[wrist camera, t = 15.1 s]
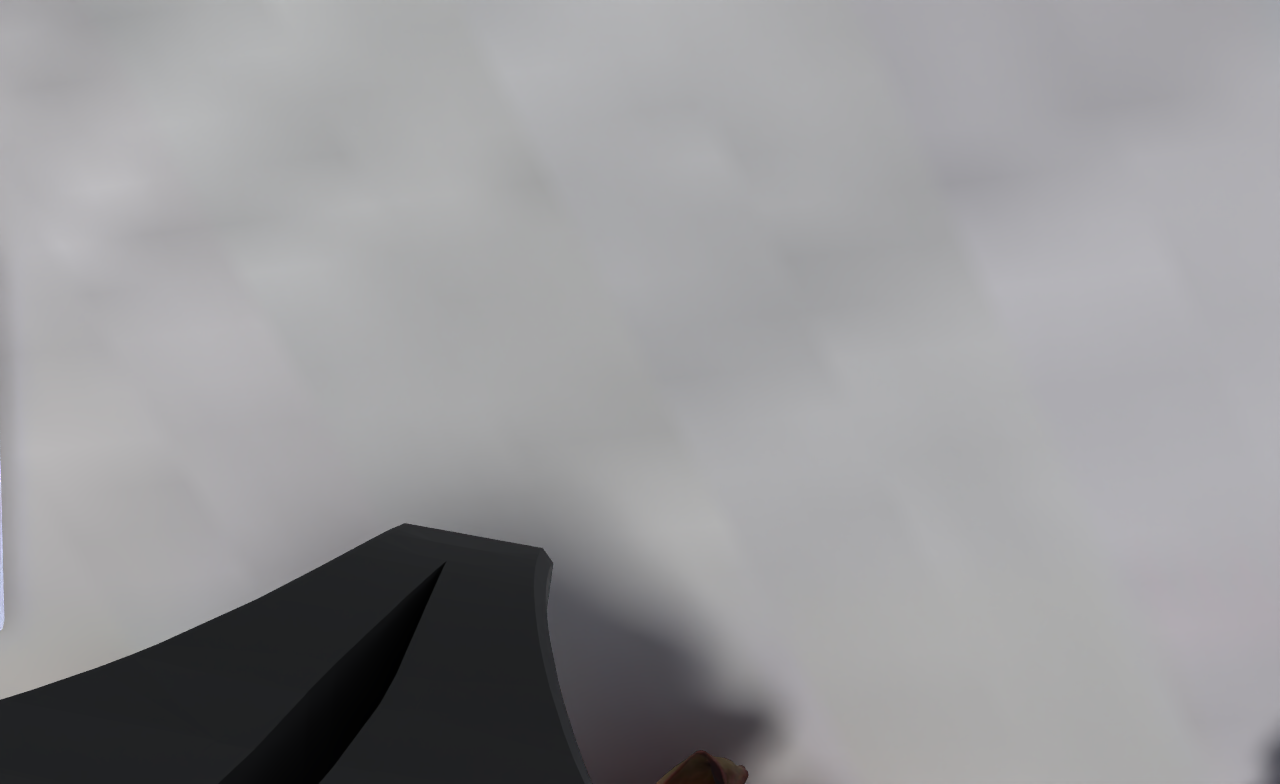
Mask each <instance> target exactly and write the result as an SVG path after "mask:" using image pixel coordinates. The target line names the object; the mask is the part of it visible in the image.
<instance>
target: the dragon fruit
mask: <svg viewBox="0 0 1280 784" xmlns="http://www.w3.org/2000/svg"><path fill="white" fill-rule="evenodd" d="M747 778H748V771H746V770H745V767H744V766H742V765H738V766H737V765H735V764H734V763H733V762H732V761H731V760H727V759H726V758H721V757H715V756H712V755H710V754H709V753H707V752H706V751H703V750H699V751H696V752H695V753H694V754H693V755H691V756H689V757H688V758H687V759H686V760H685V761H683V762H681V763H680V764H678V765H677V766H676V767H674V768H673V769H672V770H670V771H669V772H668V773H667V774H665V775H664V776H663V777H662V778H661V779H660V780H659V781H658V782H657V783H656V784H745V782H746V780H747Z"/></svg>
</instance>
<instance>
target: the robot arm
mask: <svg viewBox="0 0 1280 784" xmlns="http://www.w3.org/2000/svg"><path fill="white" fill-rule="evenodd" d="M552 569H553V562H552V561H551V559H550V558H549V556H548V555H547V554H546V552H545V551H544V549H543V548H538V547H533V546H527V545H522V544H516V543H511V542H505V541H500V540H494V539H489V538H483V537H478V536H472V535H467V534H461V533H456V532H450V531H445V530H439V529H434V528H428V527H423V526H417V525H412V524H406V523H404V524H402V525H400V526H397V527H395V528H392V529H390V530H388V531H386V532H384V533H382V534H380V535H378V536H376V537H375V538H373V539H371V540H369V541H367V542H365V543H363V544H361V545H359V546H358V547H356V548H354V549H352V550H350V551H348V552H346V553H345V554H343V555H341V556H339V557H337V558H335V559H333V560H332V561H330V562H328V563H326V564H324V565H322V566H320V567H318V568H316V569H314V570H313V571H311V572H309V573H307V574H305V575H303V576H301V577H299V578H297V579H295V580H293V581H291V582H289V583H287V584H285V585H284V586H282V587H280V588H278V589H276V590H274V591H272V592H270V593H268V594H266V595H264V596H262V597H260V598H258V599H256V600H254V601H252V602H250V603H248V604H245V605H243V606H241V607H239V608H237V609H234V610H232V611H230V612H228V613H226V614H223V615H221V616H219V617H217V618H214V619H212V620H210V621H208V622H206V623H203V624H201V625H199V626H197V627H195V628H192V629H190V630H188V631H186V632H184V633H181V634H179V635H177V636H175V637H173V638H170V639H168V640H166V641H164V642H162V643H159V644H157V645H154V646H152V647H150V648H147V649H145V650H142V651H140V652H137V653H135V654H132V655H130V656H127V657H124V658H122V659H119V660H116V661H114V662H111V663H108V664H106V665H103V666H101V667H98V668H95V669H92V670H89V671H86V672H83V673H80V674H78V675H75V676H72V677H69V678H66V679H63V680H60V681H57V682H54V683H51V684H48V685H45V686H42V687H39V688H37V689H34V690H31V691H27V692H24V693H21V694H18V695H15V696H11V697H8V698H5V699H2V700H0V784H592V782H591V780H590V777H589V775H588V772H587V770H586V767H585V765H584V762H583V759H582V757H581V754H580V751H579V748H578V746H577V743H576V740H575V737H574V734H573V731H572V727H571V724H570V721H569V718H568V715H567V712H566V708H565V705H564V702H563V698H562V694H561V690H560V686H559V683H558V678H557V673H556V668H555V663H554V658H553V653H552V648H551V643H550V638H549V631H548V623H547V604H548V597H549V590H550V583H551V576H552ZM3 623H4V588H3V547H2V505H1V463H0V631H1V629H2V628H3Z"/></svg>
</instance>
